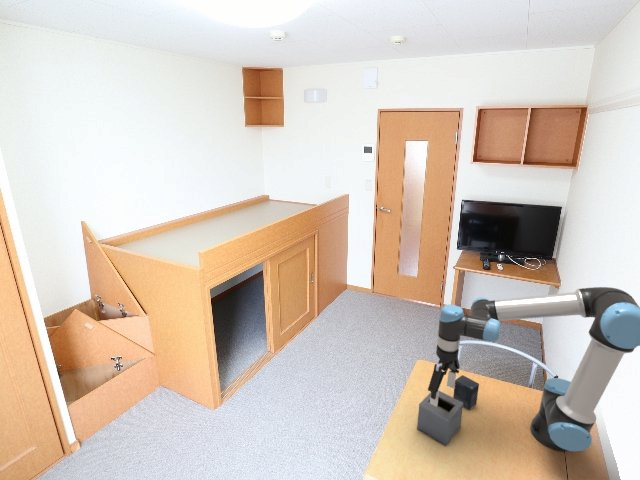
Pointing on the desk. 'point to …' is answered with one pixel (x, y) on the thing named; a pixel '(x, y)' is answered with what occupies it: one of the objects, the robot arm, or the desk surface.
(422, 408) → the gray slotted cube
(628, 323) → the robot arm
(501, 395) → the desk surface
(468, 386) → the box
